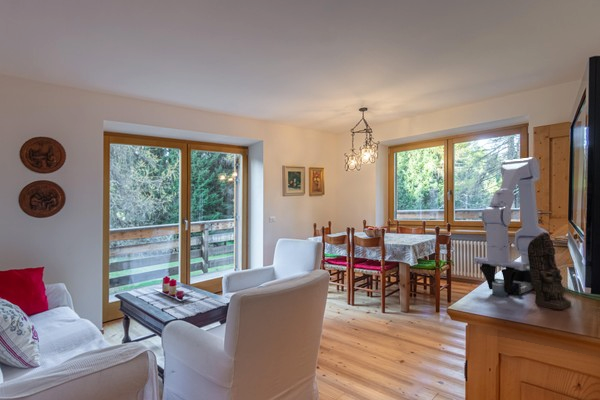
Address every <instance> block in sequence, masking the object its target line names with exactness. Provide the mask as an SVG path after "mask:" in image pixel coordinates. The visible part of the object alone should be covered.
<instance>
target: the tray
mask: <svg viewBox="0 0 600 400" xmlns="http://www.w3.org/2000/svg"><path fill="white" fill-rule="evenodd" d="M495 280H499V281H504V278H503V279H502V278H497V277H495ZM532 290H534V287H533V283H529V282H522V281H516V280H514V281H513V284H512V288H511V292H509V294H514V295H521V294H523V293H526V292H529V291H532Z"/></svg>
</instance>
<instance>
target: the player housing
mask: <svg viewBox="0 0 600 400" xmlns="http://www.w3.org/2000/svg"><path fill="white" fill-rule="evenodd" d="M526 265H527V270H524V271H521V270H519V272H518V273H517V275H516V277H515V279H514V280H516V281H522V282H528V283H532V279H531V274H530V267H529V264H526Z"/></svg>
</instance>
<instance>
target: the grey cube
mask: <svg viewBox="0 0 600 400" xmlns="http://www.w3.org/2000/svg"><path fill="white" fill-rule="evenodd" d="M492 296H495V297H499V298H507V297H508V296H509V294H508V293H506V292H505V289H504V281H499V280H495V281H492Z"/></svg>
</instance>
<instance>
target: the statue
mask: <svg viewBox="0 0 600 400" xmlns="http://www.w3.org/2000/svg"><path fill="white" fill-rule="evenodd" d="M550 239H551V235H550V233H549V234H548V233H545V232H543V233H541V234H540V235H538V236H537V237H535V238H534V239H533V240H531V241H530V243H529V245H528V259H529V267H530V274H531V279H532V283H533V287H534V289H533V290H534V292H535V293H534V295H535V297H534V303H535V305H538V306H539V307H540V306H541V307H545V308H548V309H552V310H559V311H560V310H564V309H566V308H568V307H571V306H572V301H571V300H568V299H567V298H566V297H564V291H565V290H564V287H563V283H562V280H563V276H562V275H561V272H562V271H561V270H560V269H559V268H558V266H557V261H556V249H555V247H554V242H553V240H552V239H551V240H550Z"/></svg>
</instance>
